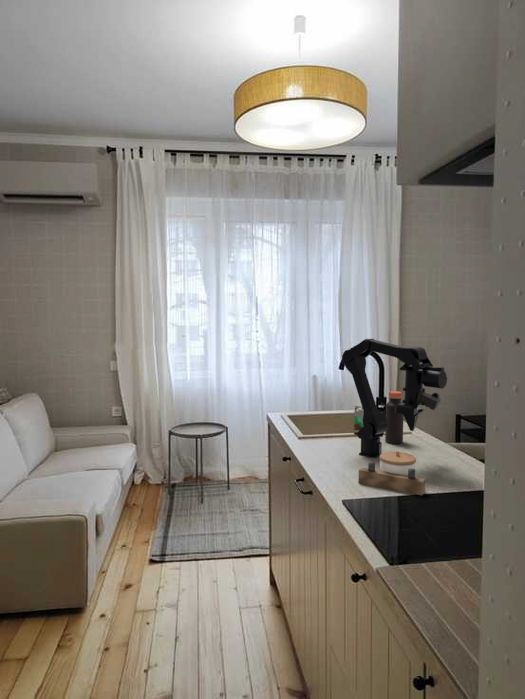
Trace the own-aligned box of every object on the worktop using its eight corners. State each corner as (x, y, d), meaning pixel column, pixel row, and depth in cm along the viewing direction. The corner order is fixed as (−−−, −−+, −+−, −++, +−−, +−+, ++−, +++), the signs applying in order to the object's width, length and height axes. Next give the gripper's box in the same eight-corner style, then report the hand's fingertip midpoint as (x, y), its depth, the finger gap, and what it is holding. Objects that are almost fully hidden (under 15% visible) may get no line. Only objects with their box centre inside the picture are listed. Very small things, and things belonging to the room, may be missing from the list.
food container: (368, 435, 208) (369, 412, 208) (353, 434, 210) (354, 411, 209) (368, 428, 221) (369, 406, 220) (354, 428, 222) (354, 405, 221)
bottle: (381, 441, 200) (382, 391, 198) (395, 439, 203) (396, 390, 201) (392, 445, 194) (394, 394, 192) (406, 443, 197) (407, 392, 195)
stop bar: (358, 482, 152) (358, 461, 152) (362, 479, 155) (362, 459, 154) (421, 495, 142) (422, 473, 142) (424, 492, 145) (425, 470, 144)
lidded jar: (373, 482, 152) (374, 452, 152) (387, 473, 161) (387, 444, 160) (407, 490, 146) (408, 458, 145) (420, 480, 155) (421, 450, 154)
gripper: (430, 391, 155) (428, 440, 157) (446, 383, 171) (444, 428, 172) (395, 387, 161) (393, 435, 163) (413, 380, 177) (411, 424, 178)
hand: (412, 430), depth 169 cm, fingers closed
